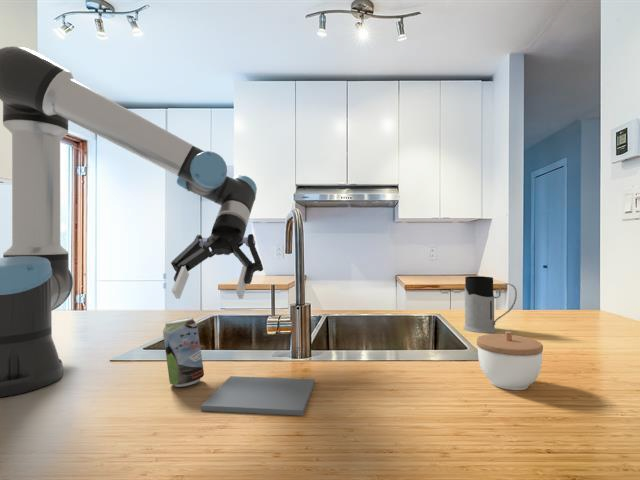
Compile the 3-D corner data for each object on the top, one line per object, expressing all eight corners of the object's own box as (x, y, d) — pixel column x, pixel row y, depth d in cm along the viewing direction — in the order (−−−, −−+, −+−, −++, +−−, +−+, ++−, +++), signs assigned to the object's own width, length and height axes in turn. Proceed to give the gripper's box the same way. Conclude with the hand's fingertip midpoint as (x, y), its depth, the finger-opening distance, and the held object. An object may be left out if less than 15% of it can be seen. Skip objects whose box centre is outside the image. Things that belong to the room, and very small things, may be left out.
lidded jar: (516, 400, 63) (516, 342, 63) (464, 379, 72) (463, 329, 72) (556, 388, 68) (556, 334, 68) (502, 370, 77) (502, 323, 77)
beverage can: (193, 391, 68) (192, 323, 68) (155, 388, 69) (155, 321, 69) (210, 379, 74) (209, 316, 74) (175, 376, 75) (175, 314, 75)
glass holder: (468, 324, 118) (467, 275, 118) (519, 330, 110) (519, 277, 110) (459, 330, 111) (459, 278, 111) (514, 337, 103) (513, 280, 103)
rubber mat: (200, 410, 60) (200, 405, 60) (230, 380, 73) (230, 376, 73) (302, 415, 58) (302, 410, 58) (314, 383, 71) (314, 379, 71)
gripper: (284, 234, 95) (270, 305, 81) (187, 235, 98) (156, 305, 84) (278, 211, 90) (262, 283, 75) (177, 213, 93) (142, 283, 78)
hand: (207, 295), depth 79 cm, fingers open, 13 cm apart
